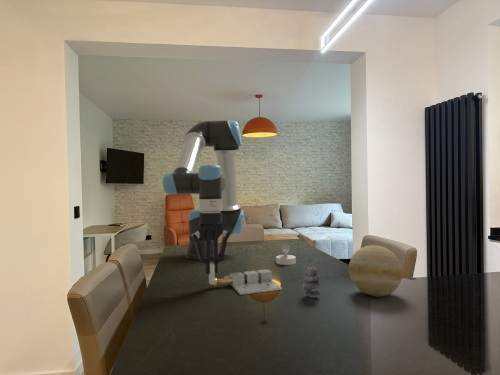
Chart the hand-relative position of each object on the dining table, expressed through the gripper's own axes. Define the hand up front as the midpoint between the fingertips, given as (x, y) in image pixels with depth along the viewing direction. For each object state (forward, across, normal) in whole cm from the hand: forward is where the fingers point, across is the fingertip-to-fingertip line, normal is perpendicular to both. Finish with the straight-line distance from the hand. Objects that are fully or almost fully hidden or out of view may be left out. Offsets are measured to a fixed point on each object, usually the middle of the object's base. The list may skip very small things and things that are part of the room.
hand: (211, 283), depth 106 cm
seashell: (+2, +26, -20) cm, 33 cm away
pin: (+2, +9, 0) cm, 9 cm away
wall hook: (+2, +38, +23) cm, 44 cm away
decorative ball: (+2, +45, -25) cm, 51 cm away
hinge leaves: (+2, +14, 0) cm, 14 cm away
